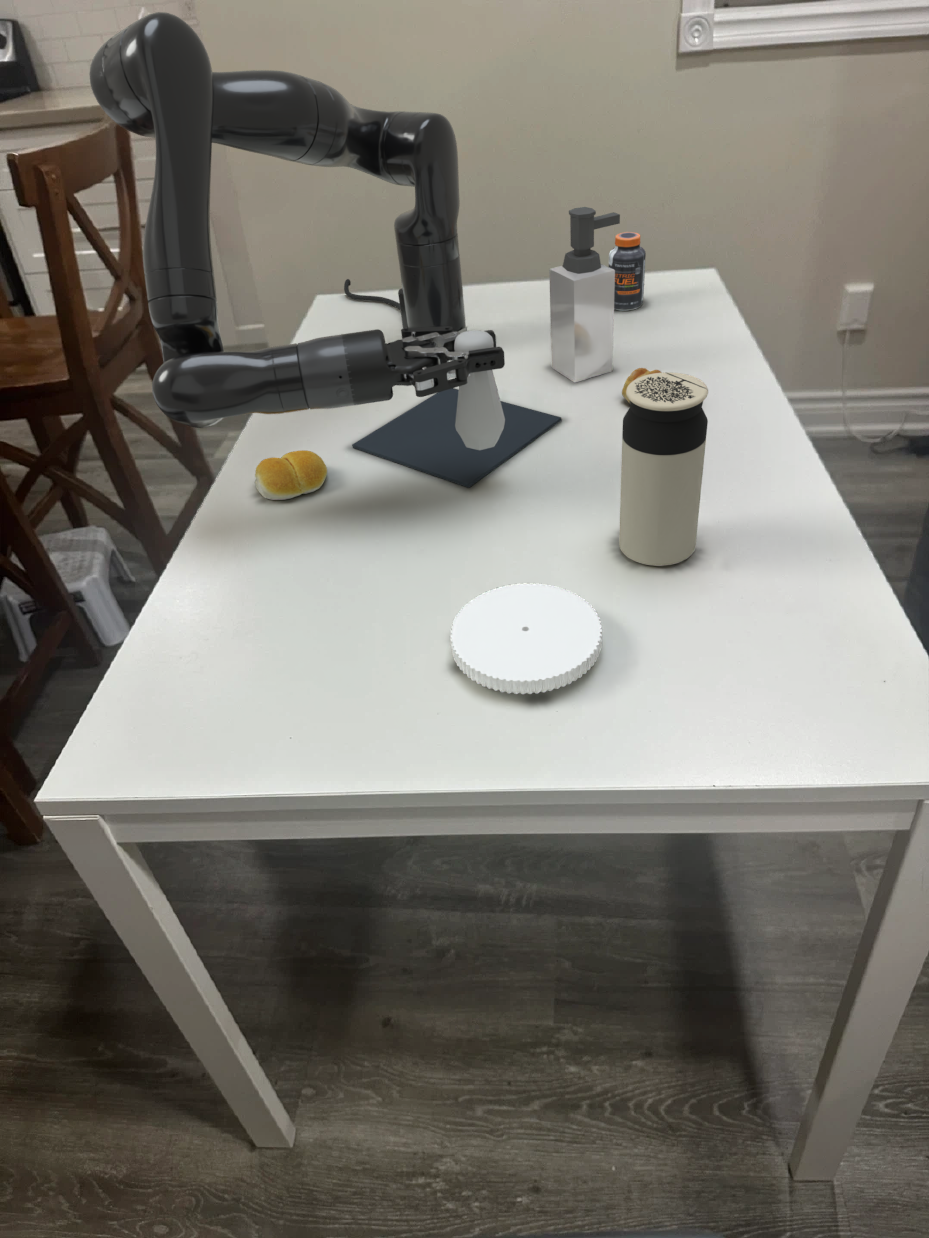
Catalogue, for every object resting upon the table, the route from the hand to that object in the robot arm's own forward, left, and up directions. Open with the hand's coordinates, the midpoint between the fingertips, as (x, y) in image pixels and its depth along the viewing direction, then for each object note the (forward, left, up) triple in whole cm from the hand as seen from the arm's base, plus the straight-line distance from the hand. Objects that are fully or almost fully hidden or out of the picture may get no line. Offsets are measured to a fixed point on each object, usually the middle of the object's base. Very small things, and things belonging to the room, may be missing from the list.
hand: (498, 348), depth 95 cm
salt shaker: (-2, -2, -11) cm, 12 cm away
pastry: (+5, +27, -17) cm, 32 cm away
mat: (-13, +6, -16) cm, 22 cm away
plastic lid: (+20, -24, -17) cm, 36 cm away
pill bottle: (-17, +56, -17) cm, 61 cm away
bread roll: (-23, -15, -17) cm, 32 cm away
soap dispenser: (-9, +32, -17) cm, 37 cm away
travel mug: (+22, -3, -17) cm, 28 cm away
